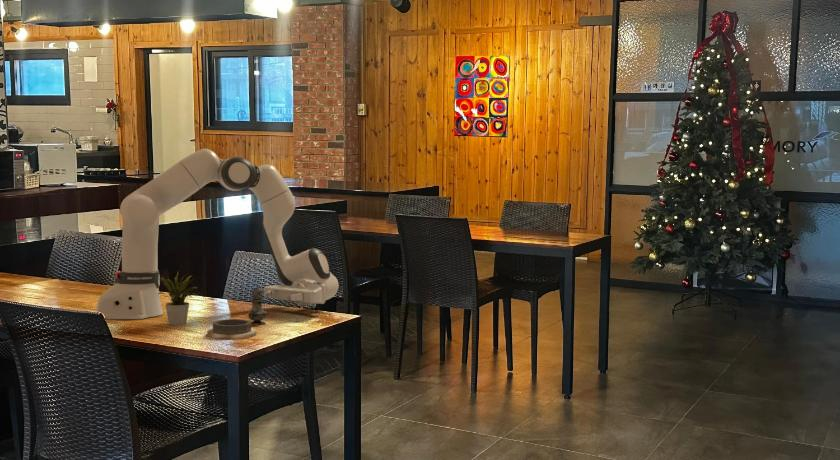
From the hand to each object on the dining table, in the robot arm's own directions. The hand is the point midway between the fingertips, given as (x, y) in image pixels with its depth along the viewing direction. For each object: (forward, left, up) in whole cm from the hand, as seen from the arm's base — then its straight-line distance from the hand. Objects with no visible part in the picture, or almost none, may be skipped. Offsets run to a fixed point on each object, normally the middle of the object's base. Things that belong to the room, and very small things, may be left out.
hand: (278, 296), depth 296 cm
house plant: (-32, -5, -7) cm, 33 cm away
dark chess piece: (-7, -8, -7) cm, 13 cm away
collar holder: (-15, -24, -7) cm, 29 cm away
